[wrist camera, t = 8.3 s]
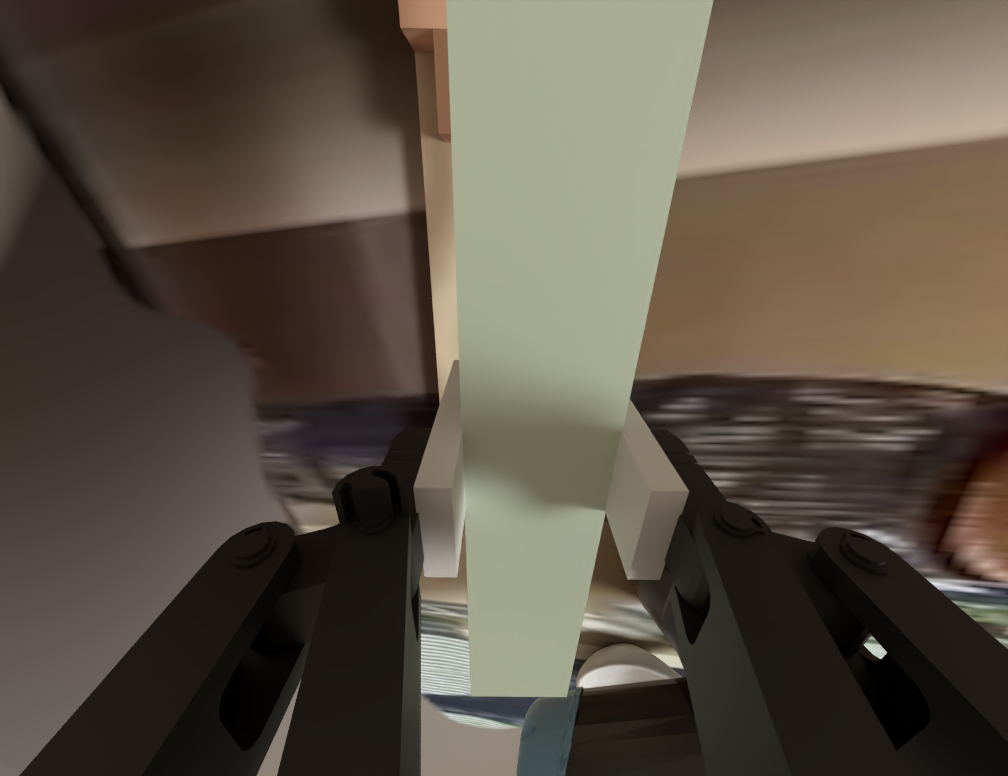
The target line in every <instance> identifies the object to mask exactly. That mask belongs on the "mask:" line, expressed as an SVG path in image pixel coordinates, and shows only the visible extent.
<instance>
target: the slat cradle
mask: <svg viewBox="0 0 1008 776" xmlns="http://www.w3.org/2000/svg"><path fill="white" fill-rule="evenodd" d="M398 5H399V17H400V28H401V30H402V31H403V33H404V35H405V36H406V38H407V40H408V42H409V43H410V45H411V47H412V48H413V50H414V52H415V62H416V76H417V90H418V104H419V119H420V133H421V147H422V161H423V175H424V189H425V203H426V218H427V232H428V246H429V260H430V274H431V288H432V302H433V317H434V331H435V345H436V359H437V373H438V387H439V401H440V402H441V399H442V396H443V393H444V390H445V387H446V383H447V380H448V377H449V374H450V371H451V368H452V365H453V361H454V360H459V345H458V317H457V289H456V261H455V233H454V204H453V176H452V148H451V120H450V92H449V64H448V36H447V8H446V0H398Z"/></svg>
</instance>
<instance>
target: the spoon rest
mask: <svg viewBox="0 0 1008 776" xmlns="http://www.w3.org/2000/svg"><path fill="white" fill-rule="evenodd" d="M681 677H682V676H680V675H679V674H678V673H676V672H675V671H674V670H673V669H671V668H670V667H669V666H668V665H666V664H665V663H664V662H663V661H661V660H660V659H659V658H657V657H656V656H654V655H653V654H651V653H650V652H648V651H646V650H644V649H641V648H640V647H638V646H636V645H633V644H627V643H620V644H613V645H610V646H607V647H605V648H603V649H600V650H598V651H596V652H595V653H594V654H592V655H591V656H590V657H589V658H588V659H587V660H586V662H585V663H584V664H583V666H582V667H581V669H580V671H579V673H578V676H577V680H576V687H583V688H592V687H601V686H609V685H618V684H627V683H635V682H644V681H653V680H662V679H670V678H681Z"/></svg>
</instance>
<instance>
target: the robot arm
mask: <svg viewBox="0 0 1008 776" xmlns="http://www.w3.org/2000/svg"><path fill="white" fill-rule="evenodd" d="M332 495H333V499H334V503H335V507H336V510H337V514H338V518H339V522H340V523H339V524H337V525H335V526H332V527H329V528H326V529H322V530H318V531H314V532H310V533H306V534H302V535H297V536H295V533H294V530H293V529H292V528H291V527H290V526H289V525H287V524H285V523H281V522H276V521H275V522H265V523H260V524H257V525H254V526H251V527H248V528H246V529H244V530H242V531H240V532H239V533H237V534H235V535H233V536H232V537H230V538H229V539H228V540H227V541H226V542H225V543H224V544H223V545H221V546H220V547H219V548H218V549H217V550H216V551H215V553H214V554H213V555H212V556H211V557H210V558H209V560H208V561H207V562H206V563H205V564H204V565H203V566H202V567H201V569H200V570H199V571H198V572H197V573H196V574H195V576H194V577H193V578H192V579H191V580H190V581H189V582H188V584H187V585H186V586H185V587H184V588H183V589H182V590H181V592H180V593H179V594H178V595H177V596H176V597H175V598H174V600H173V601H172V602H171V603H170V604H169V605H168V606H167V608H166V609H165V610H164V611H163V612H162V613H161V614H160V616H159V617H158V618H157V619H156V620H155V621H154V622H153V624H152V625H151V626H150V627H149V628H148V629H147V630H146V632H145V633H144V634H143V635H142V636H141V637H140V638H139V640H138V641H137V642H136V643H135V644H134V645H133V646H132V648H131V649H130V650H129V651H128V652H127V653H126V654H125V656H124V657H123V658H122V659H121V660H120V661H119V662H118V664H117V665H116V666H115V667H114V668H113V669H112V670H111V672H110V673H109V674H108V675H107V676H106V677H105V678H104V680H103V681H102V682H101V683H100V684H99V685H98V687H97V688H96V689H95V690H94V691H93V692H92V693H91V694H90V696H89V697H88V698H87V699H86V700H85V701H84V702H83V704H82V705H81V706H80V707H79V708H78V709H77V710H76V712H75V713H74V714H73V715H72V716H71V717H70V718H69V720H68V721H67V722H66V723H65V724H64V725H63V726H62V728H61V729H60V730H59V731H58V732H57V733H56V735H55V736H54V737H53V738H52V739H51V740H50V741H49V743H48V744H47V745H46V746H45V747H44V748H43V749H42V750H41V752H40V753H39V754H38V755H37V756H36V757H35V758H34V760H33V761H32V762H31V763H30V764H29V765H28V766H27V768H26V769H25V770H24V771H23V772H22V773H21V774H20V776H256V775H257V773H258V771H259V769H260V766H261V764H262V762H263V760H264V758H265V756H266V753H267V751H268V749H269V747H270V745H271V743H272V741H273V738H274V736H275V734H276V732H277V730H278V728H279V725H280V723H281V721H282V719H283V716H284V715H285V712H286V710H287V708H288V706H289V704H290V701H291V699H292V697H293V694H294V693H295V691H296V688H297V686H298V684H299V682H300V680H301V683H300V687H299V691H298V695H297V699H296V702H295V706H294V710H293V714H292V719H291V722H290V727H289V730H288V734H287V738H286V742H285V747H284V750H283V754H282V759H281V762H280V766H279V770H278V774H277V776H421V774H420V773H421V761H420V760H421V754H420V753H421V747H420V746H421V595H420V587H419V580H420V575H421V571H422V567H423V568H424V576H425V577H457V575H458V567H459V559H460V551H461V543H462V535H463V527H464V519H465V511H466V505H465V481H464V457H463V433H462V429H461V401H460V373H459V360H454V361H453V365H452V368H451V371H450V374H449V377H448V380H447V383H446V387H445V390H444V393H443V396H442V399H441V402H440V405H439V409H438V412H437V415H436V418H435V421H434V424H433V427H432V428H408V427H406V428H405V429H404V430H403V431H402V432H400V433H399V434H398V435H397V436H396V437H395V438H394V440H393V442H392V444H391V446H390V448H389V452H388V453H387V455H386V457H385V459H384V462H383V463H382V465H381V466H371V467H366V468H362V469H359V470H357V471H355V472H352V473H350V474H348V475H347V476H345V477H344V478H343V479H342V480H341V481H339V482H338V483H337V485H336V486H335V488H334V490H333V492H332ZM605 512H606V515H607V518H608V521H609V525H610V528H611V531H612V534H613V537H614V540H615V543H616V546H617V549H618V552H619V555H620V558H621V561H622V564H623V567H624V570H625V573H626V576H627V579H628V580H633V583H634V586H635V589H636V592H637V595H638V597H639V599H640V601H641V603H642V605H643V606H644V607H645V609H646V610H647V611H648V613H649V614H650V616H651V617H652V619H653V620H654V621H655V623H656V624H657V626H658V627H659V628H660V630H661V631H662V633H663V634H664V635H665V637H666V638H667V639H668V641H669V642H670V644H671V645H672V646H673V648H674V649H675V650H676V652H677V653H678V655H679V658H680V660H681V662H682V665H683V668H684V670H685V673H686V677H681V678H670V679H662V680H653V681H644V682H635V683H627V684H618V685H609V686H601V687H592V688H583V687H577V688H576V689H575V690H573V691H568V694H567V697H540V698H538V699H537V700H536V701H535V702H534V703H533V704H532V705H531V707H530V708H529V710H528V712H527V714H526V717H525V721H524V724H523V728H522V734H521V739H520V747H519V754H518V764H517V776H1008V649H1007V648H1006V647H1005V646H1003V645H1002V644H1001V643H1000V642H999V641H998V640H996V639H995V638H994V637H993V636H992V635H991V634H989V633H988V632H987V631H986V630H985V629H984V628H982V627H981V626H980V625H979V624H978V623H977V622H975V621H974V620H973V619H972V618H971V617H970V616H968V615H967V614H966V613H965V612H964V611H963V610H961V609H960V608H959V607H958V606H957V605H956V604H954V603H953V602H952V601H951V600H950V599H949V598H947V597H946V596H945V595H944V594H943V593H942V592H940V591H939V590H938V589H937V588H936V587H935V586H933V585H932V584H931V583H930V582H929V581H928V580H927V579H925V578H924V577H923V576H922V575H921V574H920V573H918V572H917V571H916V570H915V569H914V568H913V567H911V566H910V565H909V564H908V563H907V562H906V561H904V560H903V559H902V558H901V557H900V556H899V555H897V554H896V553H895V552H893V551H892V550H890V549H889V548H888V547H886V546H885V545H883V544H882V543H880V542H878V541H876V540H874V539H872V538H870V537H868V536H866V535H864V534H861V533H858V532H855V531H853V530H850V529H845V528H837V527H831V528H826V529H823V530H822V531H821V533H820V534H819V535H818V537H817V539H816V540H815V542H810V541H806V540H802V539H798V538H794V537H790V536H786V535H782V534H778V533H775V532H772V531H771V529H770V528H769V527H768V526H767V525H766V523H765V522H764V521H763V520H762V519H761V518H760V517H758V516H757V515H756V514H754V513H753V512H752V511H750V510H748V509H746V508H744V507H742V506H740V505H738V504H735V503H731V502H727V501H726V499H725V498H724V497H723V495H722V494H721V493H720V491H719V490H718V489H717V487H716V486H715V485H714V483H713V482H712V481H711V479H710V478H709V477H708V475H707V474H706V473H705V471H704V470H703V469H702V467H701V466H699V465H698V462H697V461H696V459H695V458H694V457H693V455H691V453H690V451H689V450H688V449H687V447H686V446H685V445H684V443H683V442H682V441H681V440H680V439H678V438H677V437H676V436H674V435H673V434H671V433H670V432H669V431H667V430H649V428H648V427H647V425H646V423H645V422H644V420H643V419H642V417H641V416H640V414H639V413H638V411H637V409H636V408H635V406H634V405H633V403H632V402H631V400H630V399H629V404H628V408H627V413H626V418H625V423H624V427H623V432H621V434H620V439H619V444H618V449H617V454H616V459H615V464H614V469H613V474H612V479H611V484H610V489H609V494H608V499H607V504H606V509H605ZM871 635H872V636H873V637H874V638H875V639H876V640H877V641H878V642H879V644H880V645H881V646H882V647H883V648H884V649H885V650H886V651H887V654H886V655H885V656H884V657H883V658H882V659H879V658H877V657H876V656H874V655H873V654H872V653H871V652H870V651H869V650H868V649H867V648H866V647H865V646H864V643H865V642H866V641H867V640H868V639H869V637H870V636H871ZM301 678H302V679H301Z"/></svg>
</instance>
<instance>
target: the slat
mask: <svg viewBox="0 0 1008 776" xmlns="http://www.w3.org/2000/svg"><path fill="white" fill-rule="evenodd" d="M712 4H713V0H446V8H447V36H448V64H449V92H450V120H451V148H452V176H453V204H454V233H455V261H456V289H457V317H458V345H459V373H460V401H461V429H462V433H463V457H464V481H465V505H466V511H465V541H466V569H467V597H468V625H469V653H470V681H471V696H507V697H567V694H568V689H569V684H570V679H571V675H572V670H573V665H574V660H575V656H576V651H577V646H578V641H579V637H580V632H581V627H582V622H583V618H584V613H585V608H586V603H587V599H588V594H589V589H590V584H591V580H592V575H593V570H594V565H595V561H596V556H597V551H598V546H599V541H600V537H601V532H602V527H603V522H604V518H605V513H606V512H605V509H606V504H607V499H608V494H609V489H610V484H611V479H612V474H613V469H614V464H615V459H616V454H617V449H618V444H619V439H620V434H621V432H623V427H624V423H625V418H626V413H627V408H628V404H629V399H630V394H631V389H632V385H633V380H634V375H635V370H636V366H637V361H638V356H639V351H640V347H641V342H642V337H643V332H644V328H645V323H646V318H647V313H648V309H649V304H650V299H651V294H652V290H653V285H654V280H655V275H656V271H657V266H658V261H659V256H660V252H661V247H662V242H663V237H664V233H665V228H666V223H667V218H668V214H669V209H670V204H671V199H672V195H673V190H674V185H675V180H676V176H677V171H678V166H679V161H680V156H681V152H682V147H683V142H684V137H685V133H686V128H687V123H688V118H689V114H690V109H691V104H692V99H693V95H694V90H695V85H696V80H697V76H698V71H699V66H700V61H701V57H702V52H703V47H704V42H705V38H706V33H707V28H708V23H709V19H710V14H711V9H712Z"/></svg>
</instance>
